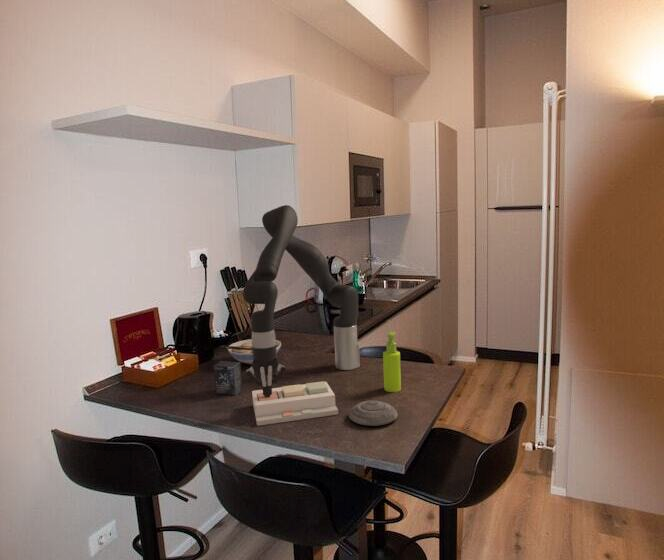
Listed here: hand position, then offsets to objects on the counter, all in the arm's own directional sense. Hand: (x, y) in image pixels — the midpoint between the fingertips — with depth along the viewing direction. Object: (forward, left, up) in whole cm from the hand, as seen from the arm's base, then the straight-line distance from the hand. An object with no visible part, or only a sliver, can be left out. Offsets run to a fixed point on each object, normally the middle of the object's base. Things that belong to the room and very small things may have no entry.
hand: (267, 396), depth 160 cm
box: (+12, -22, -5) cm, 26 cm away
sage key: (-16, 0, -1) cm, 16 cm away
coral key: (0, 0, -3) cm, 3 cm away
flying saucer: (-30, +16, -6) cm, 35 cm away
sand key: (-8, 0, -2) cm, 8 cm away
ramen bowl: (0, -54, -5) cm, 54 cm away
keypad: (-8, +2, -5) cm, 10 cm away
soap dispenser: (-44, -5, -5) cm, 45 cm away
